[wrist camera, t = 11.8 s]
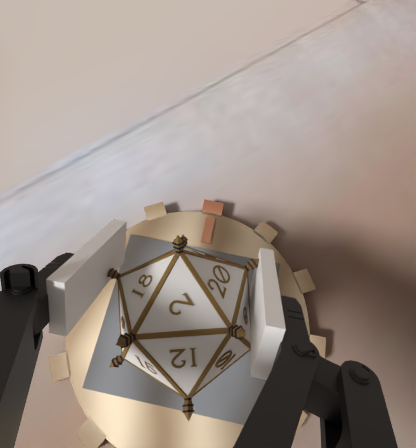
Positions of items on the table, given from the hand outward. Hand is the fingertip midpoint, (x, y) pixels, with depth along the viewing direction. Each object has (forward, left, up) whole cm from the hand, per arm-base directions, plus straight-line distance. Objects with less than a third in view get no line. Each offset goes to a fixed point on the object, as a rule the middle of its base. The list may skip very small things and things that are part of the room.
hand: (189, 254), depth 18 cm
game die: (-1, +3, -4) cm, 5 cm away
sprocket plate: (0, +3, -9) cm, 9 cm away
